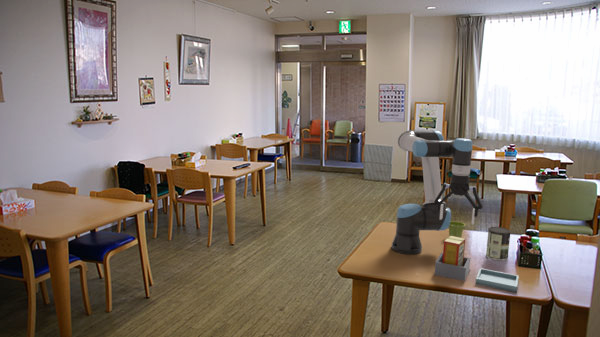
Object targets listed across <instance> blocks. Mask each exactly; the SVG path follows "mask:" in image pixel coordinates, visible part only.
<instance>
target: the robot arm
mask: <svg viewBox="0 0 600 337" xmlns="http://www.w3.org/2000/svg"><path fill="white" fill-rule="evenodd" d="M397 144H398V146H399V148H400V149H401V150H403V151H405V152H411V153H412V154H413V156H414V157H416V158H417V157H418V158H421V162H422V164H421V165H422V175H423V177H422V178H423V188H424V191H423V192H424V202H423V203H422V206H421V205H420V204H418V203H406V204H402V205H401V204H400V206H399V207H398V208H397V212H396V225H395V226H396V227H395V228H396V229H395V236H394V238H393V240H392V241H391V242H392V243H391V249H392V250H393V251H394V252H397V253H399V254H404V255H417V254H420V253H422V250H423V246H422V242H421V238H420V231H436V232H439V231H447V230H448V229H449V225H450V221H451V220H452V211H451V208H450V207H447V202H445V201H447V199H448V198H449V197H451V196H452V195H454V196H461V197H462V196H464V197H465V199H466V200H468V202H469V203H470V204H471V206H472V207H473V209H472V214H471V216H472V217H471V225H474V224H475V220H476V219H475V218H476V217H478V214H479V210H482V209H483V206H484V205H483V203H482V201H481V199H480V196H479V194H478V192H477V186H475V185H474V186H470V178H471V176H470V174H471V165H472V164H471V162H472V152H473V140H471V139H470V138H462V137H461V138H455V139H448V140H445V138H444V136H443V134H442V132H441V131H439V130H433V129H430V130H429V129H425V130H424V129H422V130H421V129H420V130H419V129H418V130H417V129H411V130H406V131H404V132H402V133H401V134H400V135H399V137H398V139H397ZM440 158H452V165H451V173H452V174H451V177H450V184H448V183H447V182H444V183H443V184H442V181H441V170H440ZM448 188H449V189H450V191H449V192H448V193H447V194H446V195H445V196H444V197H443V194H444V192H445V191H446V190H447V189H448ZM469 191H471V192H472V193H473V196H474V199H475V200H474V199H473V198H472V197H471V195H470V194H469Z"/></svg>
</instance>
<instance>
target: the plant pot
mask: <svg viewBox="0 0 600 337" xmlns="http://www.w3.org/2000/svg"><path fill="white" fill-rule="evenodd" d="M465 226H466V223H464V222H461V221H453V220H452V221H450V225H449V227H448V234H449V235H448V238H449V237H450V236H455V237H460V238H462V237H463V236H462V235H463V232H464V229H465Z"/></svg>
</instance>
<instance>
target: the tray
mask: <svg viewBox="0 0 600 337" xmlns="http://www.w3.org/2000/svg"><path fill="white" fill-rule="evenodd" d="M519 277H520V275H518V274H512V273H507V272H502V271H497V270H492V269H486V268H482V267H481V268H479V270H478V272H477V275H476V278H475V285H479V286H484V287H488V288H493V289H499V290H502V291H503V290H504V291H508V292H513V293H517V291H518V285H519Z"/></svg>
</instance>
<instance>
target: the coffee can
mask: <svg viewBox="0 0 600 337" xmlns="http://www.w3.org/2000/svg"><path fill="white" fill-rule="evenodd" d="M510 240H511V230H510V229H508V228H505V227H501V226H490V227H488V228H487V240H486V241H487V243H486V250H485V251H486V252H485V257H487V258H488V259H490V260H494V261H501V262H502V261H507V260H509V249H510Z"/></svg>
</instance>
